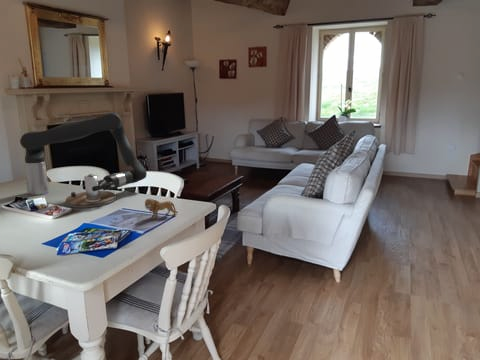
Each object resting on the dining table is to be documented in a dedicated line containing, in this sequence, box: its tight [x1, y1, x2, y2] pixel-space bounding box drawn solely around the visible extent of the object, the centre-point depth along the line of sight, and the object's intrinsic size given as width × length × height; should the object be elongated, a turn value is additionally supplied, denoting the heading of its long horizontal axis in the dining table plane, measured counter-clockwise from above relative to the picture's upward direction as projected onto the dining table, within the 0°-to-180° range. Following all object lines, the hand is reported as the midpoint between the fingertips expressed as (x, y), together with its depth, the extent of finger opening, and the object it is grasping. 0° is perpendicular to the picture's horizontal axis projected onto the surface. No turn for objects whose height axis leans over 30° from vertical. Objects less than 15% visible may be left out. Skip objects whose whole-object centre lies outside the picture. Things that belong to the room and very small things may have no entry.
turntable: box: [65, 190, 116, 206], centre depth 185 cm, size 23×23×3 cm
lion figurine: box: [144, 198, 179, 219], centre depth 163 cm, size 15×5×9 cm, turn 119°
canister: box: [83, 173, 101, 202], centre depth 178 cm, size 7×7×13 cm
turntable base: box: [64, 195, 117, 209], centre depth 186 cm, size 24×24×1 cm
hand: (88, 188), depth 176 cm, fingers closed on canister, 6 cm apart
